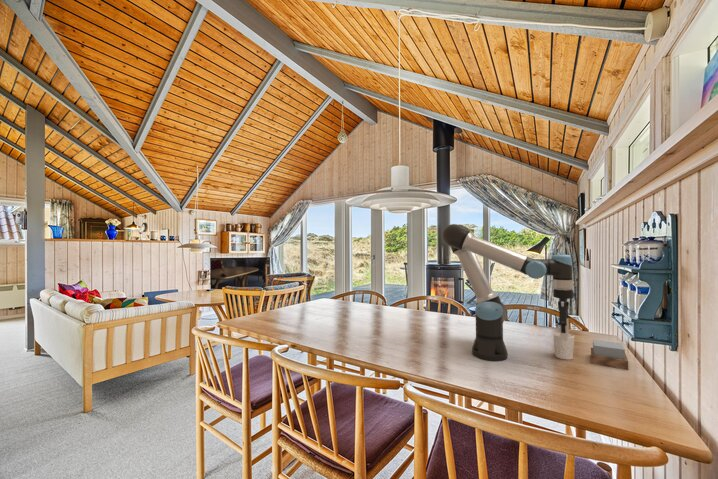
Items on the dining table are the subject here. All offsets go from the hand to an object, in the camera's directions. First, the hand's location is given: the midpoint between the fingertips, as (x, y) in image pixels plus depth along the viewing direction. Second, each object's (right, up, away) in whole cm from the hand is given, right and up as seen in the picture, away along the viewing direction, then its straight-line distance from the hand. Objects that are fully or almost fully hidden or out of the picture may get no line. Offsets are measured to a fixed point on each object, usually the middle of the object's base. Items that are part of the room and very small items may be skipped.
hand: (564, 336), depth 141 cm
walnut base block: (+15, -10, -6) cm, 19 cm away
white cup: (0, -10, 0) cm, 10 cm away
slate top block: (+15, -6, -6) cm, 17 cm away
